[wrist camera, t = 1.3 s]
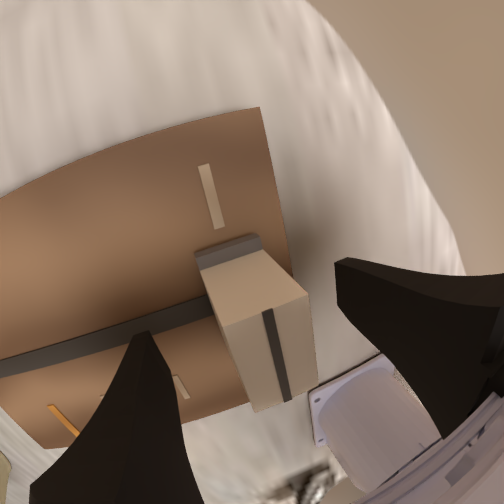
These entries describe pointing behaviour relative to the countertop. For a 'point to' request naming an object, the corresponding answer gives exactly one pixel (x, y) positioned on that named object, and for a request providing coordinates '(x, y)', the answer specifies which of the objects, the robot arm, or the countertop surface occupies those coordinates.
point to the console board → (128, 269)
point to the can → (4, 477)
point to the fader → (261, 320)
